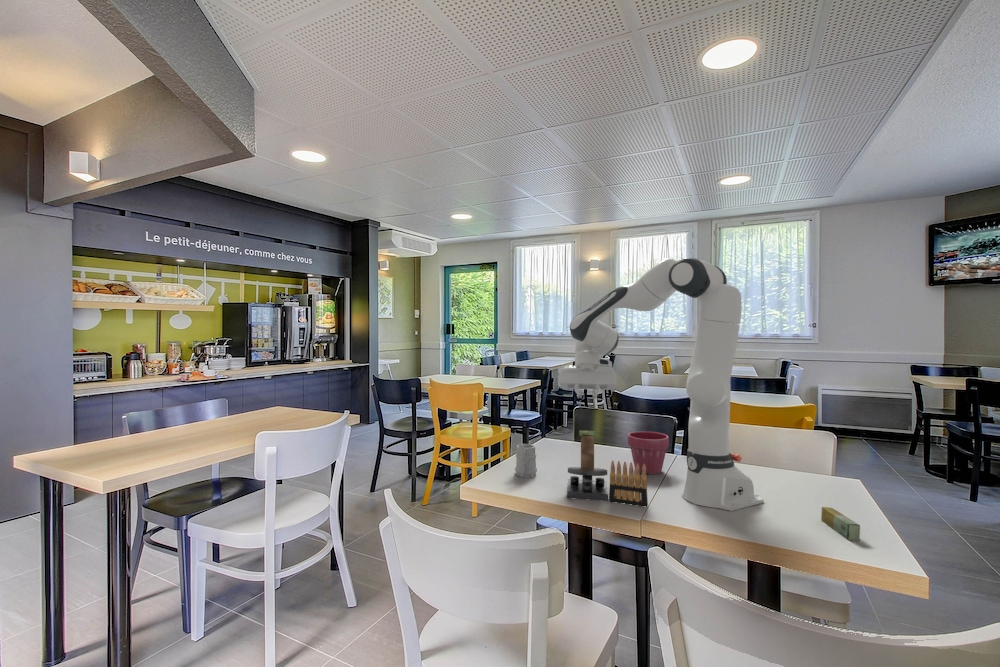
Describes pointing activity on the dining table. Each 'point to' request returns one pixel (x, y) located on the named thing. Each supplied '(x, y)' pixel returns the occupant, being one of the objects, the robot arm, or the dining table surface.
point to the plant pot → (648, 450)
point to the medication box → (841, 524)
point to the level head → (587, 457)
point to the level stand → (587, 488)
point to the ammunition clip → (628, 485)
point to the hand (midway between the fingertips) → (587, 397)
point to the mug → (526, 460)
